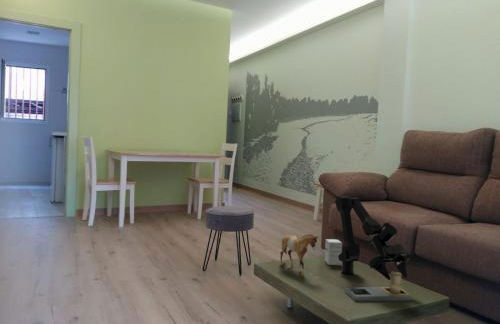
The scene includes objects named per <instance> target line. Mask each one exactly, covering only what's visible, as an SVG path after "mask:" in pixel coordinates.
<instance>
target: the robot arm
mask: <svg viewBox="0 0 500 324" xmlns="http://www.w3.org/2000/svg"><path fill="white" fill-rule="evenodd" d="M334 202H335V206H336V209H337V211H338V212H339V214H340V218H341V227H342V233H343V241H344V242H343V243H342V251H341V253H340V255H339V256H338V258H339V260H340V261H341V269H340V274H343V275H351V276H353V275H355V270H354V266H355V264H354V263H355V262H358V261H359V257H360V255H361V249H360V244H359V243H357V242H356V241H355V237H354V230H353V223H352V216H351V215H352V214H351V212H352V210H353V211H354V213H355V214H356V216H357V217H358V219H359V220H360V222H361V225H362V226H361V228H362V229H363V232H364V234H365V235H366V236H368V237H369V236H373V237H369V242H368V244H369V245H370V244H373V246H374V248H375V251H376V252H375V254H376V255H377V256H373V257H372V259H370V260H369V261H368V265H369V268H370V269H373V270H375V271H376V272H378V273H379V274H380V275H382V276H383V277H384V278H386V279H387V280H388V281H390V279H391V278H390V277H391V274H390V273H389V271H388V269H387V267H386V264H392V263H393V264H394V265H395V267H396V269H397V270H398V271H399V273H401V276H403V278H405V279H408V274H407V263H408V262H409V260H410V257H409V256H408V254H405V253H403V251H404V246H403V244H401V243H398V244H395V245H389V244H388V242H390V241H391V240H392V239H393V238H394V237H395V236H396V235H397V234H398V230H397V228H396V227H395V226H393V225H391V224H390V223H389V222H384V224H383V225H381V224H380V223H379V222H378V221H377V220H376V219H374V218H373V217H372V216H370V214H369V213H368V211H367V210H366V208H365V207H364V205H363V203H362V202H361V199H360V198H358V197H350V196H337V197H336V199H335V201H334ZM402 253H403V254H402ZM398 254H399V255H398Z"/></svg>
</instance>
